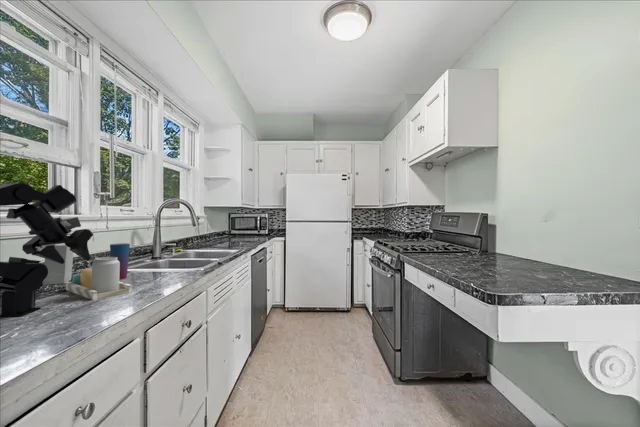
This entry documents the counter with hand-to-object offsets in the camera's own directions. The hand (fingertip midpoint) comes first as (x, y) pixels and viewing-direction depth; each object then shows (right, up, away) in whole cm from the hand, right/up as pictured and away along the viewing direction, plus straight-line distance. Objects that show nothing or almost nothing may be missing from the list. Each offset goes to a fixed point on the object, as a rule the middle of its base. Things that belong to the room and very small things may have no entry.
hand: (76, 261), depth 91 cm
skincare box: (-23, -12, +19) cm, 33 cm away
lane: (+2, -12, +7) cm, 14 cm away
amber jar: (-2, -11, +10) cm, 15 cm away
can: (+6, -12, +4) cm, 14 cm away
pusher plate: (-6, -11, +12) cm, 17 cm away
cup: (-5, -13, +27) cm, 30 cm away
